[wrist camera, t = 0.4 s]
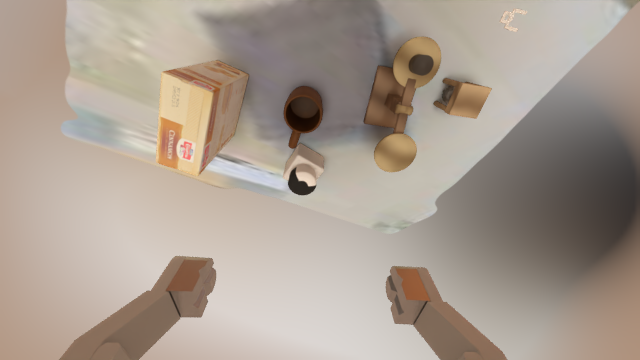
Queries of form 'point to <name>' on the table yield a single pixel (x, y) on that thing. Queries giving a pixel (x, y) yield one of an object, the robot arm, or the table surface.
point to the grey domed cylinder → (447, 93)
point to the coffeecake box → (197, 114)
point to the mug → (302, 112)
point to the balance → (400, 100)
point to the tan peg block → (465, 99)
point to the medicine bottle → (303, 170)
